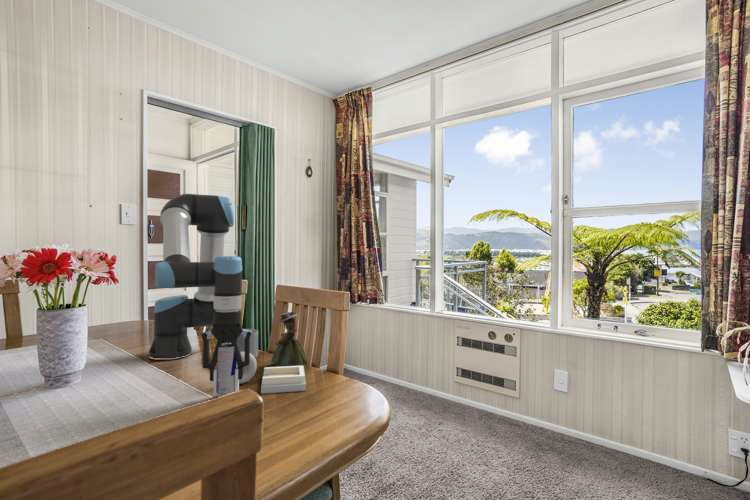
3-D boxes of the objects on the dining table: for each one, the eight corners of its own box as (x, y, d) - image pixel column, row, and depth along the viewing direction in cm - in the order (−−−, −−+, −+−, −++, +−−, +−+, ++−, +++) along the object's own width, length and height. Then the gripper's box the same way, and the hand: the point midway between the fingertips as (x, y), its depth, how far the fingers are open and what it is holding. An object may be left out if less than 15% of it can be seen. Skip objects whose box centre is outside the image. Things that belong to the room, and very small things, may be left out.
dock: (264, 376, 129) (264, 364, 129) (303, 374, 132) (303, 362, 132) (260, 393, 114) (261, 380, 114) (305, 390, 117) (305, 377, 117)
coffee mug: (252, 352, 159) (252, 327, 159) (261, 357, 151) (261, 332, 152) (218, 357, 151) (219, 331, 151) (226, 363, 143) (227, 336, 143)
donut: (253, 378, 127) (254, 348, 127) (258, 381, 124) (259, 350, 124) (223, 385, 120) (224, 353, 120) (228, 388, 117) (228, 355, 117)
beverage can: (239, 395, 112) (240, 343, 112) (227, 401, 107) (228, 347, 107) (225, 392, 114) (225, 342, 114) (212, 399, 109) (213, 346, 109)
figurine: (286, 358, 150) (287, 307, 150) (317, 363, 144) (318, 310, 144) (261, 368, 137) (262, 312, 137) (293, 374, 131) (294, 316, 131)
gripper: (190, 312, 105) (189, 398, 105) (259, 311, 109) (258, 393, 109) (196, 308, 112) (195, 388, 112) (261, 307, 116) (260, 384, 116)
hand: (226, 391), depth 111 cm, fingers closed on beverage can, 5 cm apart
